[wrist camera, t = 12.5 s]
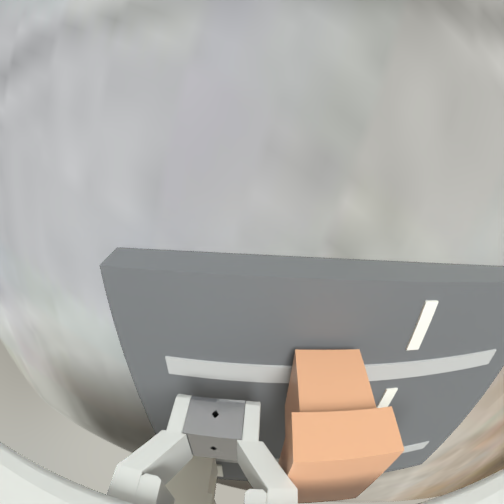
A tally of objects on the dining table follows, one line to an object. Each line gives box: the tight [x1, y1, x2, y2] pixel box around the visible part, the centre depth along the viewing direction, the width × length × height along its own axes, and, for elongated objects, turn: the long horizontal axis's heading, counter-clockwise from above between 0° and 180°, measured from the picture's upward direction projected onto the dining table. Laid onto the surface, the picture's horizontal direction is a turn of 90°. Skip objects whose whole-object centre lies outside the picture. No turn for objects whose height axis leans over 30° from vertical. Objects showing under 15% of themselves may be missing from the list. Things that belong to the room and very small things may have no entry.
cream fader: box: [165, 456, 218, 504], centre depth 13 cm, size 3×4×5 cm
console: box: [100, 248, 504, 481], centre depth 14 cm, size 20×18×2 cm
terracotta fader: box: [278, 349, 404, 503], centre depth 9 cm, size 3×4×5 cm
